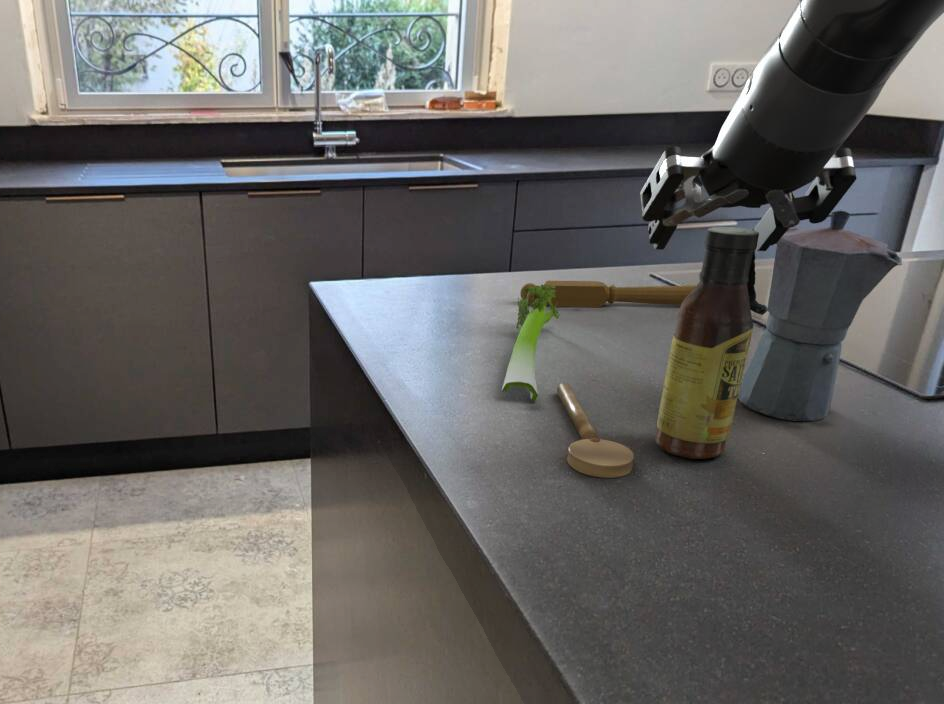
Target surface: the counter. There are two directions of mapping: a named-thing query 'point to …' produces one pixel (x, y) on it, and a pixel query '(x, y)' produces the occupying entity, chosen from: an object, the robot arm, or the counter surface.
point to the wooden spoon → (593, 444)
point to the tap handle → (608, 294)
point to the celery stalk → (529, 339)
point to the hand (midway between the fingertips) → (707, 241)
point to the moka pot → (810, 316)
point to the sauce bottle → (709, 350)
